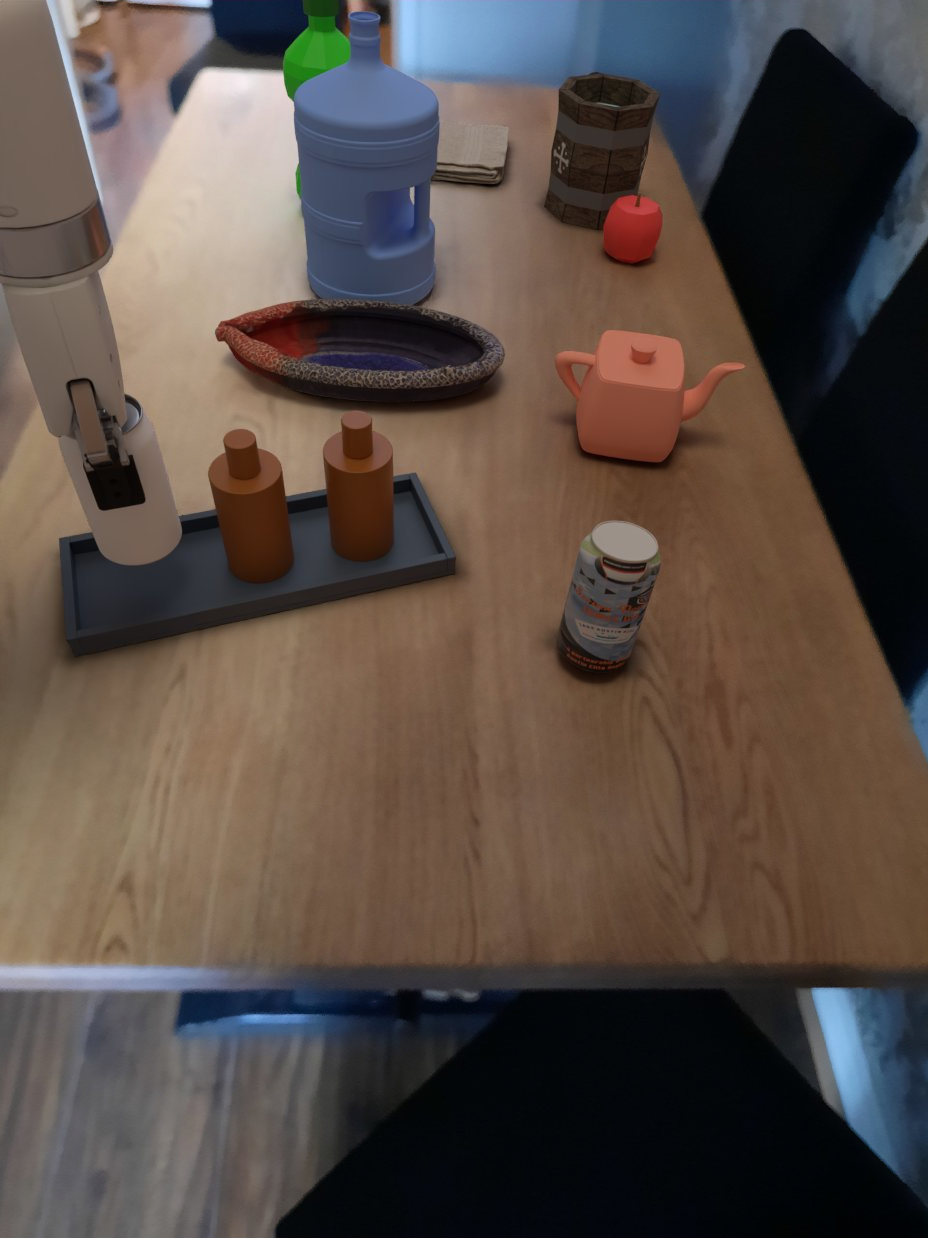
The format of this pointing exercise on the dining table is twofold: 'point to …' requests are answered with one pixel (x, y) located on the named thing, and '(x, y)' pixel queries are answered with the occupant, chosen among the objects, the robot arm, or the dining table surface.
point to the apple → (632, 228)
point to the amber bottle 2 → (359, 489)
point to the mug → (598, 146)
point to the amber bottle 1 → (251, 509)
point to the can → (140, 527)
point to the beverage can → (608, 596)
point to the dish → (364, 349)
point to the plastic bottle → (315, 50)
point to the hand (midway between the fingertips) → (117, 470)
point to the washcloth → (471, 153)
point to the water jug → (367, 175)
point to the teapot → (635, 394)
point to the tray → (212, 595)
